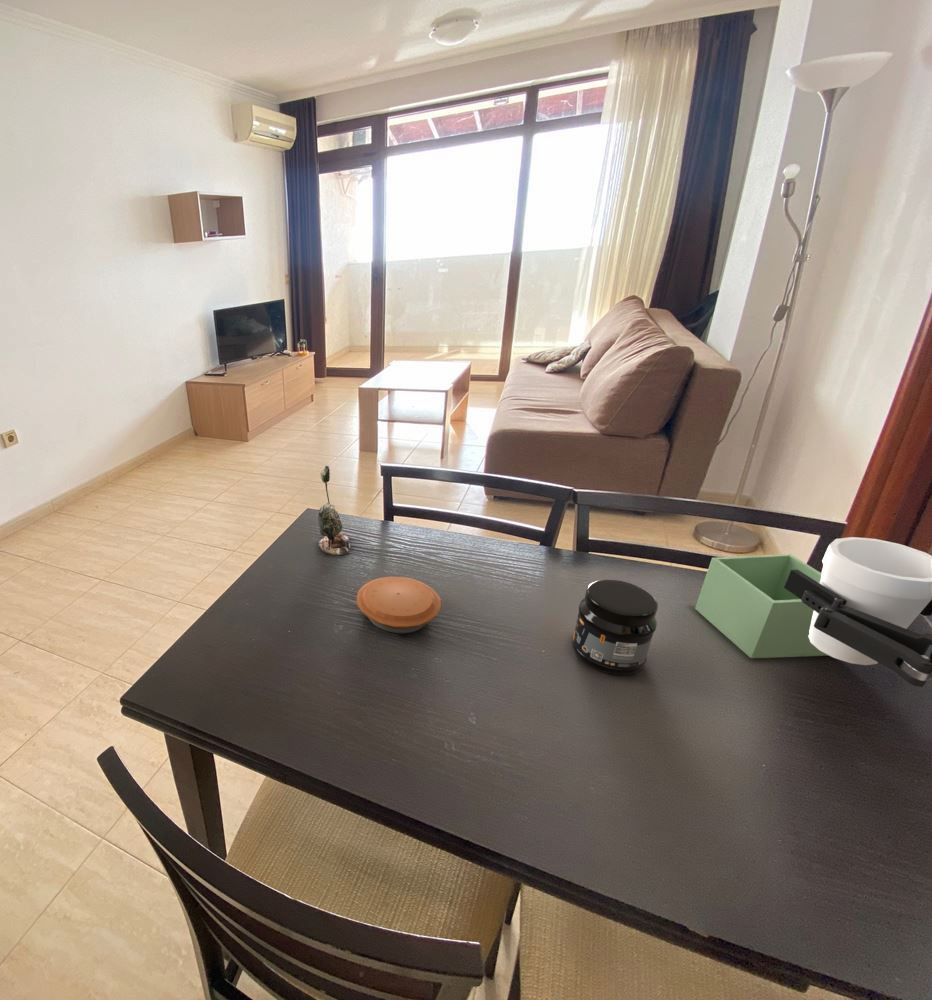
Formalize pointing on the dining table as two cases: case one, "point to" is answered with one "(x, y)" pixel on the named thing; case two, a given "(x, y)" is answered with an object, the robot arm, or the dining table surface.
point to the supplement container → (615, 626)
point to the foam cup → (873, 586)
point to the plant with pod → (331, 525)
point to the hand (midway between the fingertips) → (833, 576)
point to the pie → (398, 603)
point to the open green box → (759, 605)
